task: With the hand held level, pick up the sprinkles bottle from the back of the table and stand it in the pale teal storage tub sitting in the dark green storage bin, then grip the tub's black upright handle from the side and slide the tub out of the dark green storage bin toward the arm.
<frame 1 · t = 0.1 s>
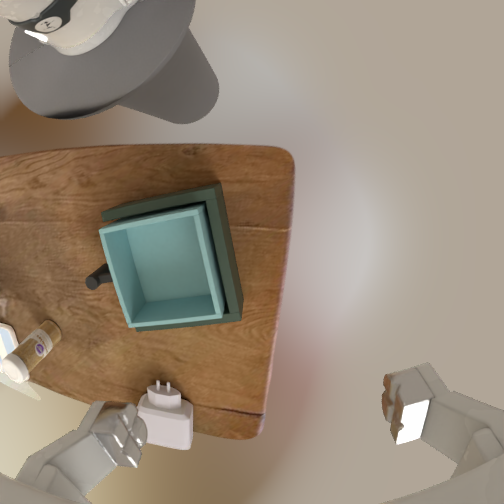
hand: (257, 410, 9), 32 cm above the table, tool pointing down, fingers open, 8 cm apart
dark green storage bin: (181, 252, 42), on the table
charger: (168, 402, 50), on the table
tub: (149, 267, 37), point 5 cm above the table, slide at 0.0 cm
sprinkles bottle: (52, 329, 47), on the table
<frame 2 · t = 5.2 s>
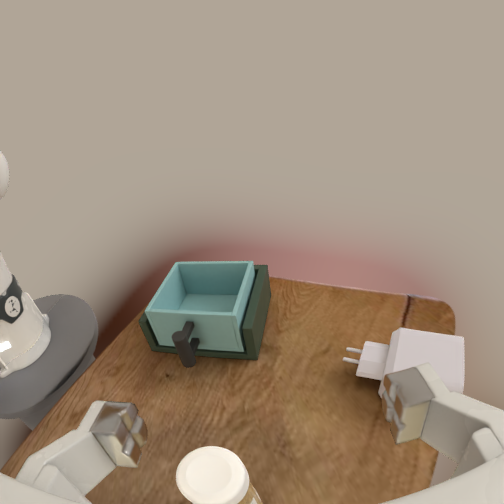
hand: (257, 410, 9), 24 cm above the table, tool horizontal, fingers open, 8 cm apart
dark green storage bin: (213, 322, 48), on the table
charger: (398, 377, 34), on the table
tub: (201, 313, 43), point 5 cm above the table, slide at 0.0 cm
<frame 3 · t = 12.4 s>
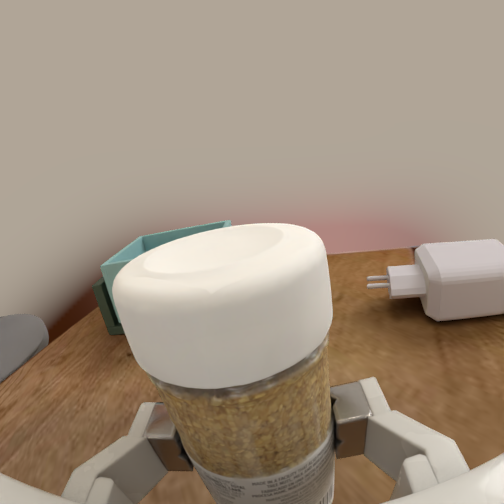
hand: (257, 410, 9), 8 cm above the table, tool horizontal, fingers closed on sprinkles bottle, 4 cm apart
dark green storage bin: (188, 300, 38), on the table
charger: (440, 302, 26), on the table
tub: (172, 274, 34), point 5 cm above the table, slide at 0.0 cm
when the fingers open (10 cm above the table, at t = 20.3 s): sprinkles bottle stays where it is, resting on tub.
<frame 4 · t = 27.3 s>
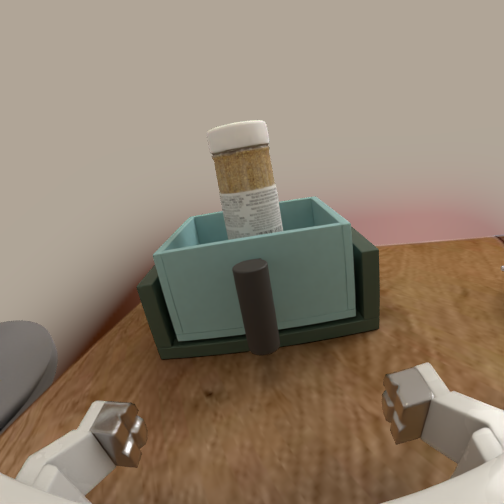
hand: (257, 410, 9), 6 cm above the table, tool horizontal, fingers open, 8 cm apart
dark green storage bin: (266, 303, 28), on the table
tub: (258, 267, 24), point 5 cm above the table, slide at 0.0 cm, touching sprinkles bottle
sprinkles bottle: (264, 290, 27), point 2 cm above the table, touching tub
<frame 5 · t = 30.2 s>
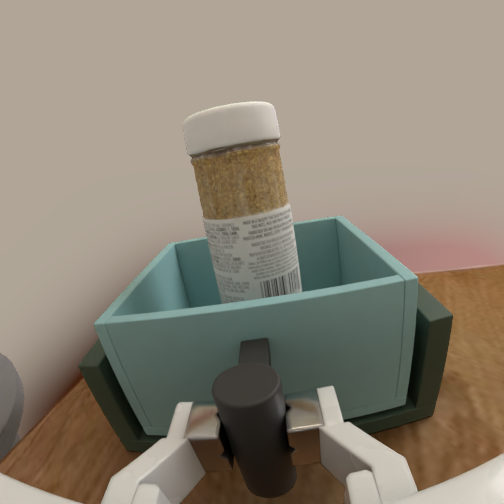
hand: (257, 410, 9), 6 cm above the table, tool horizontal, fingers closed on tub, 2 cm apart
dark green storage bin: (273, 366, 20), on the table
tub: (262, 331, 15), point 5 cm above the table, slide at 0.0 cm, touching gripper, sprinkles bottle
sprinkles bottle: (271, 353, 18), point 2 cm above the table, touching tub
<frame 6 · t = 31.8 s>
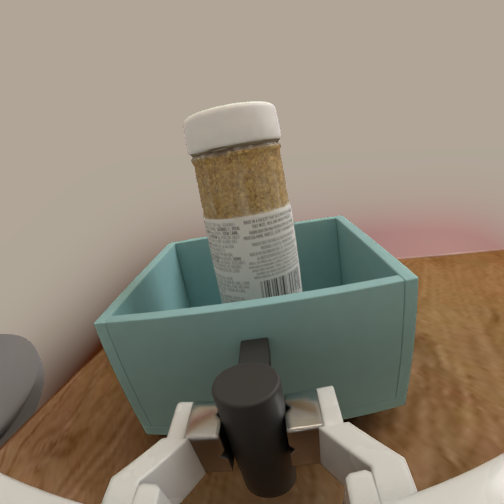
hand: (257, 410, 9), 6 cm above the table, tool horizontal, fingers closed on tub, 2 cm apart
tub: (262, 330, 15), point 5 cm above the table, slide at 4.6 cm, touching gripper, sprinkles bottle
sprinkles bottle: (271, 353, 18), point 2 cm above the table, touching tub
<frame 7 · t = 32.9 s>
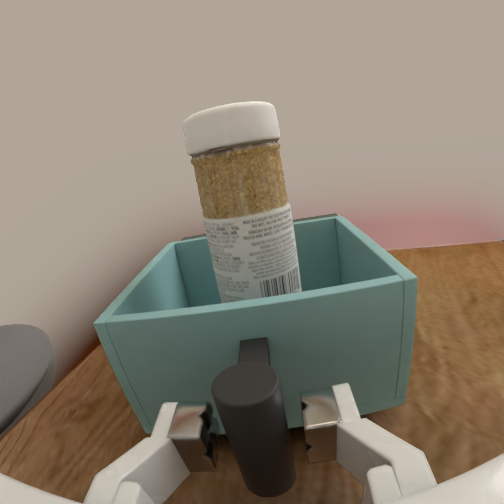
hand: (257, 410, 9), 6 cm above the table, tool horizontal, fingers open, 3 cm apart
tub: (261, 330, 15), point 5 cm above the table, slide at 7.9 cm, touching sprinkles bottle
sprinkles bottle: (270, 353, 18), point 2 cm above the table, touching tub
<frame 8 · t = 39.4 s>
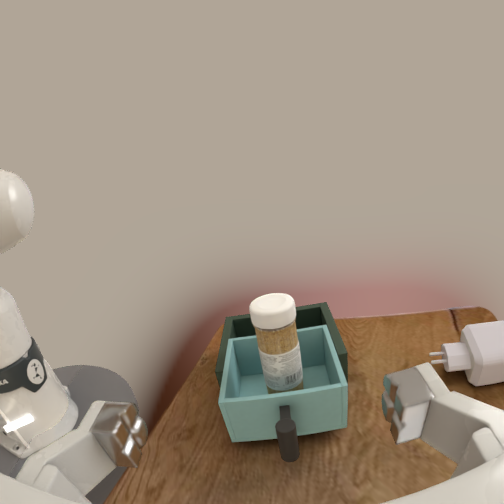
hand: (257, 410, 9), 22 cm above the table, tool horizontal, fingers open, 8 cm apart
dark green storage bin: (283, 367, 44), on the table
charger: (476, 368, 33), on the table
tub: (284, 394, 32), point 5 cm above the table, slide at 7.9 cm, touching sprinkles bottle
sprinkles bottle: (286, 399, 35), point 2 cm above the table, touching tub
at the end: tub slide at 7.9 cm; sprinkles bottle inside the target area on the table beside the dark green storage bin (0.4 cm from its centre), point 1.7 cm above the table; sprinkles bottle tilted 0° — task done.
